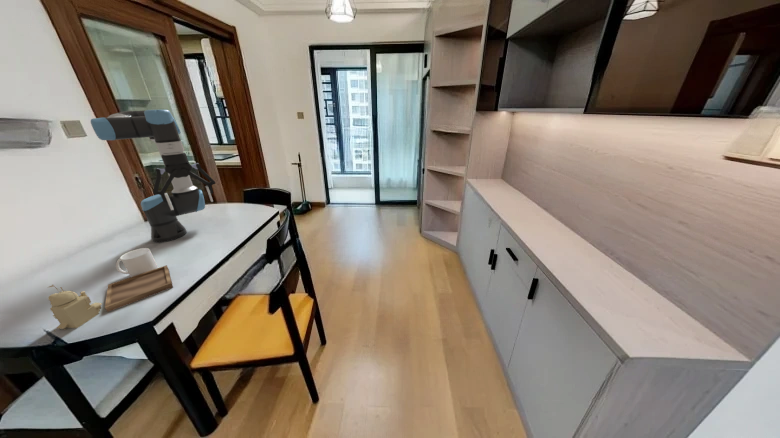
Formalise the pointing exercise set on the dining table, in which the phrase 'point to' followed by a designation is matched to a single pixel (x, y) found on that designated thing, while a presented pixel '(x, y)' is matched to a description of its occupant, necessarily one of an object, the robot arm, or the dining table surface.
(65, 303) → the robot
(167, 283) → the tray
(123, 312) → the dining table surface
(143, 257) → the mug
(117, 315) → the dining table surface
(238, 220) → the dining table surface
